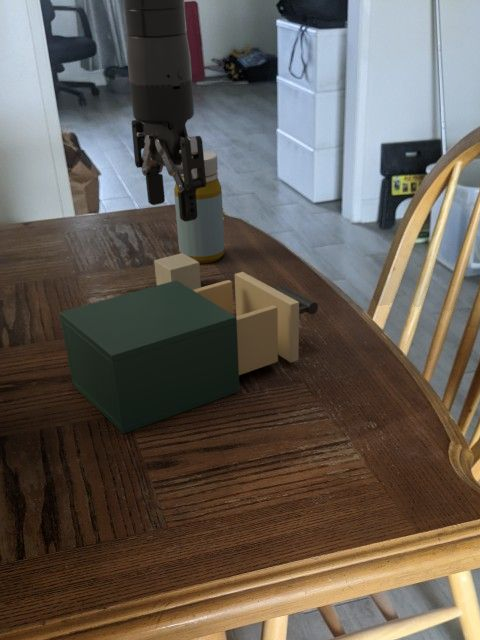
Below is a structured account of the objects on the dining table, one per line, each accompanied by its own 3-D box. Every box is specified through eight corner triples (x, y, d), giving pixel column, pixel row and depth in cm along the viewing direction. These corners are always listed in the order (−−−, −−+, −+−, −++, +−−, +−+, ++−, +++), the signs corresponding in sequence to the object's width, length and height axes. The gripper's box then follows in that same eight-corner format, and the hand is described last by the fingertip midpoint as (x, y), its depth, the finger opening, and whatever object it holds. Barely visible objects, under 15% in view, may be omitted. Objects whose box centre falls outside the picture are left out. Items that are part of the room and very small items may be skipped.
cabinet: (182, 350, 96) (176, 279, 91) (239, 391, 88) (236, 316, 82) (72, 386, 89) (59, 312, 84) (123, 434, 81) (111, 355, 76)
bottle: (209, 245, 126) (204, 146, 117) (233, 258, 121) (228, 156, 112) (171, 254, 122) (162, 154, 114) (194, 268, 118) (186, 164, 109)
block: (173, 302, 108) (170, 270, 105) (157, 291, 111) (153, 260, 108) (201, 293, 110) (199, 262, 107) (185, 283, 113) (182, 252, 110)
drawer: (274, 316, 102) (274, 262, 97) (330, 348, 94) (332, 291, 90) (150, 356, 93) (144, 298, 89) (201, 395, 86) (196, 334, 81)
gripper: (105, 72, 97) (122, 204, 107) (162, 88, 88) (175, 232, 97) (158, 65, 100) (170, 193, 110) (218, 80, 91) (225, 219, 101)
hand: (172, 211), depth 104 cm, fingers open, 8 cm apart
